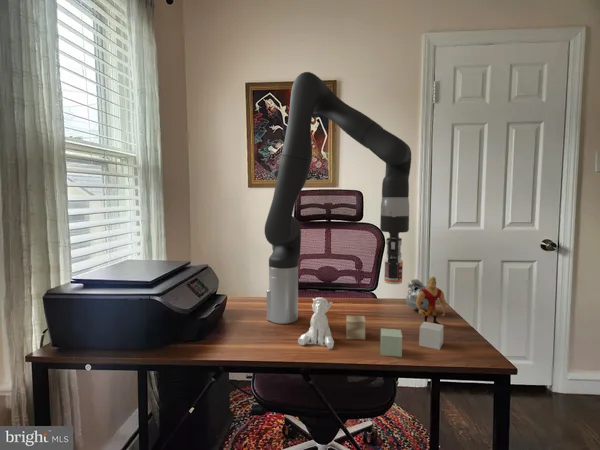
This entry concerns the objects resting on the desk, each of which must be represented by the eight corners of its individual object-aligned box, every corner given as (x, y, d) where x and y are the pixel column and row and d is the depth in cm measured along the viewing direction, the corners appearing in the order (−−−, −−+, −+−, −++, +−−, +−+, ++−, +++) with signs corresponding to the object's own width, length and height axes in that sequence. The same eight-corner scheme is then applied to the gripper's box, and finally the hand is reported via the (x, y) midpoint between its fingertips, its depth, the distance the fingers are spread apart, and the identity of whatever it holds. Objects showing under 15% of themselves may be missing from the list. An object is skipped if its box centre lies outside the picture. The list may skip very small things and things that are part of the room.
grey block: (419, 345, 93) (419, 327, 92) (423, 339, 97) (424, 321, 96) (439, 350, 90) (439, 330, 90) (443, 343, 94) (443, 325, 94)
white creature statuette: (297, 345, 92) (297, 300, 91) (305, 333, 101) (305, 292, 100) (332, 349, 90) (333, 303, 89) (338, 337, 98) (338, 294, 97)
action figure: (419, 327, 106) (420, 277, 105) (414, 323, 110) (415, 275, 109) (449, 325, 107) (450, 277, 106) (442, 321, 111) (444, 274, 110)
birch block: (346, 339, 97) (346, 321, 97) (346, 332, 102) (346, 315, 102) (365, 339, 96) (365, 321, 96) (363, 333, 101) (364, 316, 101)
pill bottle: (402, 285, 94) (403, 254, 94) (384, 284, 95) (385, 253, 95) (401, 281, 99) (402, 251, 99) (384, 280, 100) (384, 250, 99)
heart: (442, 315, 115) (440, 278, 117) (414, 316, 114) (413, 279, 115) (426, 311, 125) (425, 277, 127) (401, 312, 124) (400, 278, 125)
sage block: (380, 355, 87) (381, 335, 86) (380, 347, 92) (380, 328, 91) (401, 357, 86) (402, 337, 85) (400, 349, 91) (400, 329, 90)
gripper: (382, 213, 104) (381, 270, 105) (378, 215, 90) (377, 280, 91) (409, 213, 102) (407, 272, 103) (409, 215, 88) (407, 282, 89)
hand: (393, 275), depth 97 cm, fingers closed on pill bottle, 4 cm apart
